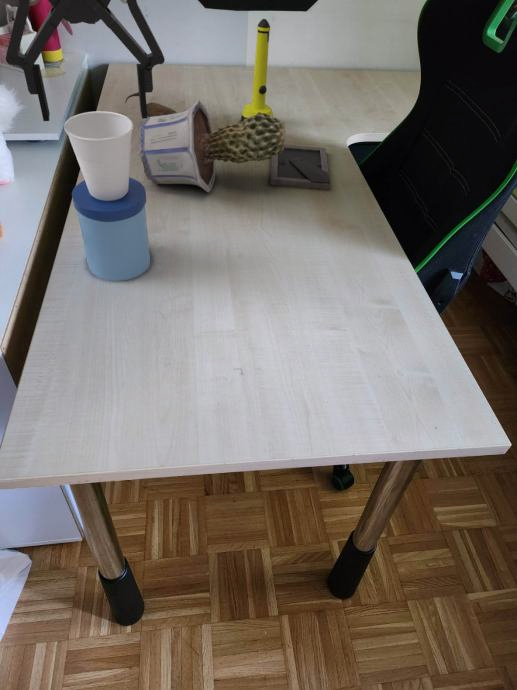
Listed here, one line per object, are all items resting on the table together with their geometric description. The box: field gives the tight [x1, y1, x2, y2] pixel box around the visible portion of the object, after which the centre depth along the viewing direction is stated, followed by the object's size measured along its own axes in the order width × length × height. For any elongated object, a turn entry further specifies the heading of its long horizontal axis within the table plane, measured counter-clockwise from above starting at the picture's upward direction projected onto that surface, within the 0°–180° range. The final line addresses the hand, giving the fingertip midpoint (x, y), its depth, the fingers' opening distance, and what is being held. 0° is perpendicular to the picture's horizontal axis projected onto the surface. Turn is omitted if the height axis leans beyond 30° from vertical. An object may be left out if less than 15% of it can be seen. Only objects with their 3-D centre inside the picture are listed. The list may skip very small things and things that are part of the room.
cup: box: [63, 110, 134, 201], centre depth 80 cm, size 10×10×11 cm
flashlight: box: [240, 18, 274, 122], centre depth 130 cm, size 25×9×9 cm
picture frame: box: [270, 144, 331, 191], centre depth 123 cm, size 13×2×18 cm
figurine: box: [125, 91, 178, 118], centre depth 131 cm, size 14×4×9 cm, turn 95°
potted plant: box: [138, 100, 286, 193], centre depth 109 cm, size 18×18×30 cm
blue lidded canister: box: [71, 176, 151, 282], centre depth 89 cm, size 12×12×14 cm
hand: (96, 116), depth 75 cm, fingers open, 13 cm apart
